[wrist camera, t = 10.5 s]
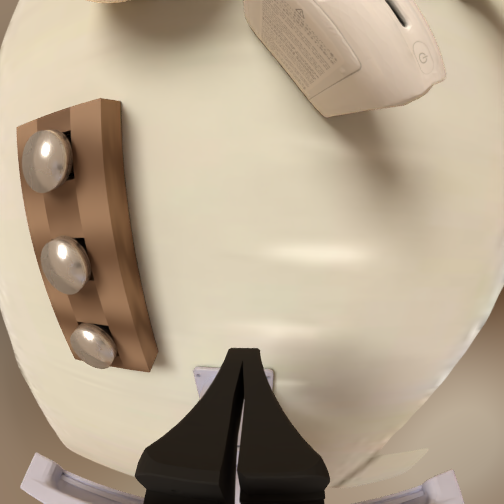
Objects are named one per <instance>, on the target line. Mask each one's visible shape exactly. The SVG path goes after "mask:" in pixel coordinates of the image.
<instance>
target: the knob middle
mask: <svg viewBox="0 0 504 504" xmlns="http://www.w3.org/2000/svg"><path fill="white" fill-rule="evenodd" d="M41 265H42V269H43V272H44V274H45V276H46V278H47V279H48V281H49V282H50V284H51V285H52V286H53V287H54V288H56V289H57V290H58V291H60V292H62V293H64V294H70V295H71V294H75V293H77V292H78V291H79V290H80V289H81V288H82V287H83V286H84V285H85V284H86V283H87V282H88V281H89V279H90V275H91V265H90V261H89V257H88V253H87V248H86V244H85V239H84V238H71V237H69V236H58V237H56V238H55V239H53V240H52V241H50V242H49V243H47V244H46V245H45V246H44V247H43V249H42V252H41Z"/></svg>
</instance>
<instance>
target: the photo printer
mask: <svg viewBox="0 0 504 504" xmlns="http://www.w3.org/2000/svg"><path fill="white" fill-rule="evenodd" d="M243 3H244V13H245V18H246V20H247V22H248V24H249V25H250V27H251V28H252V30H253V31H254V33H255V34H256V35H257V37H258V38H259V39H260V40H261V41H262V43H263V44H264V45H265V46H266V47H267V48H268V50H269V51H270V52H271V53H272V55H273V56H274V57H275V58H276V59H277V61H278V62H279V63H280V64H281V66H282V67H283V68H284V69H285V71H286V72H287V73H288V74H289V76H290V77H291V78H292V79H293V81H294V82H295V83H296V84H297V86H298V87H299V88H300V90H301V91H302V92H303V93H304V95H305V96H306V97H307V98H308V100H309V101H310V102H311V103H312V105H313V106H314V107H315V108H316V109H317V110H318V111H319V112H320V113H321V114H322V115H323V116H324V117H326V118H328V117H332V116H337V115H344V114H350V113H356V112H362V111H368V110H375V109H382V108H389V107H396V106H404V105H406V104H408V103H410V102H412V101H414V100H417V99H419V98H420V97H422V96H424V95H425V94H426V93H427V92H428V91H429V90H430V89H431V87H432V86H433V85H434V84H437V83H440V82H442V81H443V80H444V79H445V78H446V71H445V67H444V63H443V59H442V56H441V53H440V50H439V47H438V45H437V42H436V40H435V37H434V35H433V33H432V31H431V29H430V27H429V25H428V23H427V21H426V20H425V18H424V16H423V14H422V13H421V11H420V9H419V8H418V6H417V5H416V3H415V2H414V0H243Z"/></svg>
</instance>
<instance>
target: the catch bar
mask: <svg viewBox="0 0 504 504" xmlns="http://www.w3.org/2000/svg"><path fill="white" fill-rule="evenodd" d="M53 129H55V130H59V131H61V132H62V133H63V134H65V135H69V134H71V145H72V155H73V169H74V176H71V177H68V178H67V180H66V181H65V183H64V184H63V185H61V186H60V187H58V188H56V189H53V190H51V191H48V192H45V193H39V192H36V191H34V190H33V189H32V188H31V187H30V186H29V185H28V184H27V182H26V180H25V178H24V175H23V170H22V155H23V150H24V147H25V145H26V143H27V141H28V140H29V138H30V137H31V136H32V135H33V134H34V133H36V132H38V131H42V130H53ZM17 148H18V161H19V171H20V179H21V187H22V194H23V200H24V206H25V211H26V216H27V221H28V226H29V231H30V235H31V239H32V243H33V247H34V251H35V255H36V258H37V262H38V265H39V269H40V272H41V275H42V278H43V282H44V285H45V288H46V291H47V293H48V296H49V299H50V302H51V304H52V307H53V310H54V312H55V315H56V317H57V320H58V322H59V325H60V327H61V329H62V332H63V334H64V336H65V339H66V341H67V343H68V345H69V347H70V350H71V352H72V354H73V356H74V358H75V359H77V360H82V359H80V358H79V357H78V355H77V354H76V353H75V352H74V350H73V348H72V346H71V343H70V337H71V335H72V333H73V332H74V331H75V329H76V328H77V327H78V326H79V325H80V324H82V323H90V324H98V325H106V326H109V329H110V332H111V335H112V338H113V340H114V343H115V345H116V348H117V354H116V356H115V358H114V360H113V362H112V364H111V365H110V366H112V367H117V368H123V369H130V370H136V371H143V372H150V370H151V368H152V365H153V363H154V361H155V358H156V356H157V353H158V349H157V346H156V342H155V338H154V335H153V331H152V327H151V323H150V319H149V315H148V311H147V307H146V303H145V299H144V294H143V290H142V285H141V280H140V276H139V271H138V266H137V260H136V255H135V249H134V243H133V237H132V231H131V225H130V218H129V210H128V203H127V194H126V185H125V175H124V164H123V151H122V133H121V101H115V100H109V99H102V98H100V99H96V100H92V101H89V102H85V103H82V104H79V105H75V106H72V107H69V108H66V109H63V110H60V111H57V112H54V113H51V114H49V115H46V116H43V117H41V118H38V119H36V120H33V121H31V122H28V123H26V124H23V125H21V126H19V127H17ZM58 236H69V237H71V238H84V239H85V244H86V248H87V253H88V257H89V261H90V265H91V275H90V279H89V281H88V282H87V283H86V284H85V285H84V286H83V287H82V288H81V289H80V290H79V291H78V292H77V293H75V294H71V295H70V294H64V293H62V292H60V291H58V290H57V289H56V288H54V287H53V286H52V285H51V284H50V282H49V281H48V279H47V278H46V276H45V274H44V272H43V269H42V265H41V252H42V249H43V247H44V246H45V245H46V244H47V243H49V242H50V241H52V240H53V239H55V238H56V237H58ZM82 361H83V360H82Z"/></svg>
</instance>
